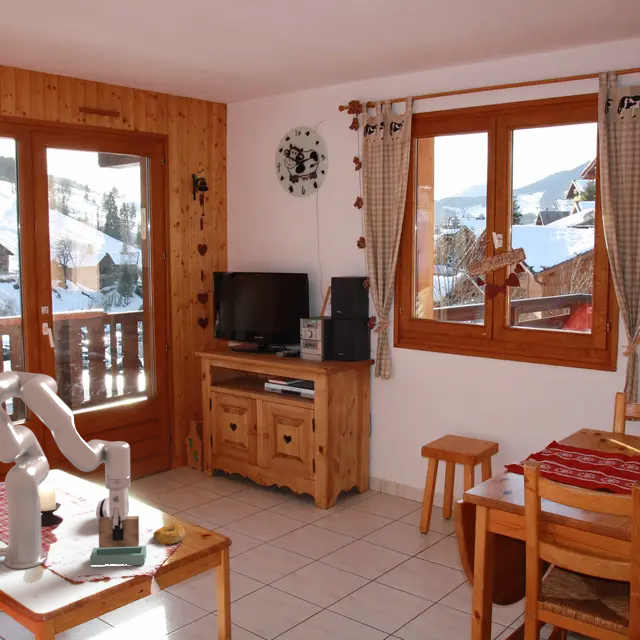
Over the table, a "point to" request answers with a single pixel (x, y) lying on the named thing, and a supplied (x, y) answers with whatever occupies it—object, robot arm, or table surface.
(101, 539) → the brown wooden board
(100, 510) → the white curved piece
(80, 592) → the table surface
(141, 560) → the green rectangular tray
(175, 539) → the bagel
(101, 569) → the table surface
